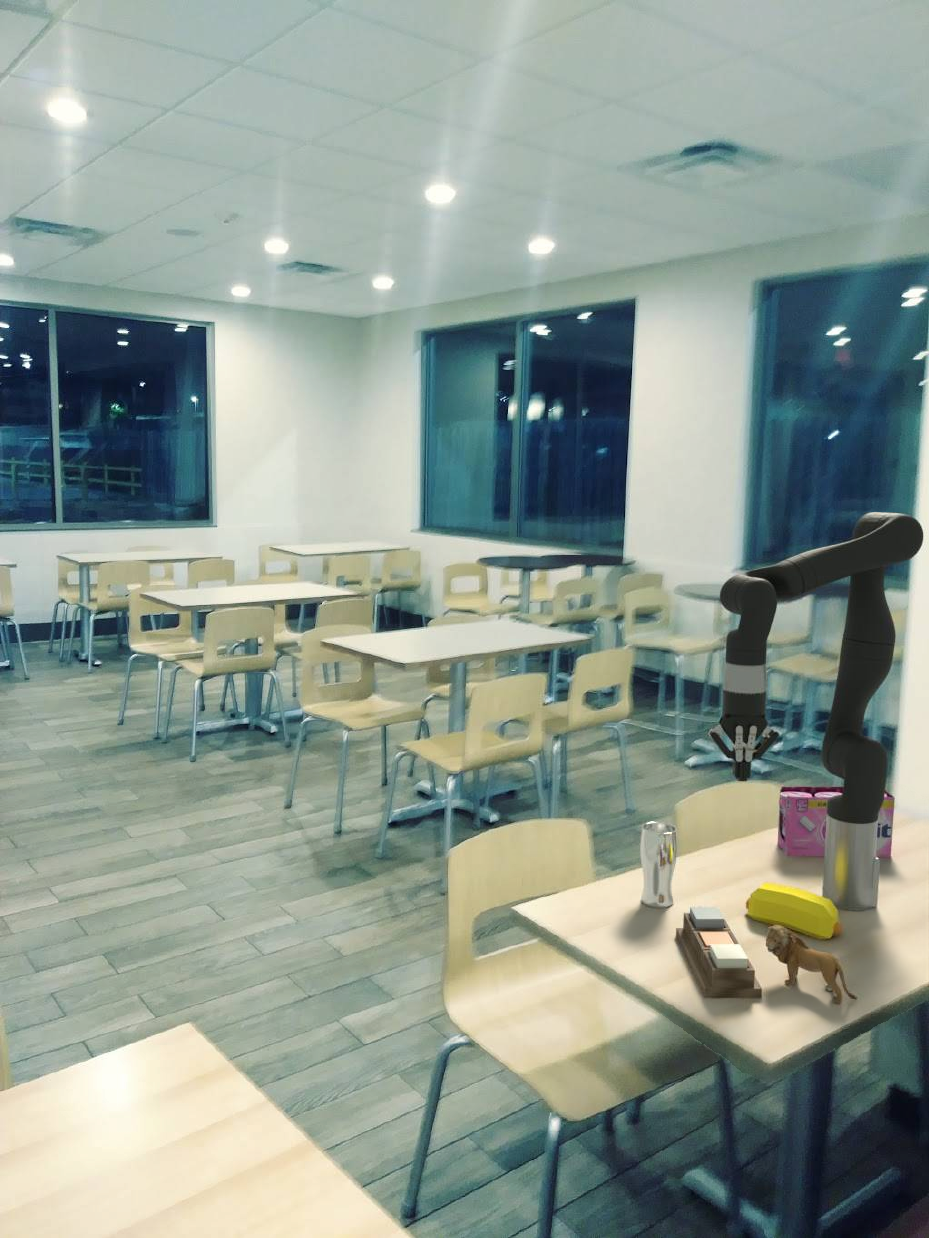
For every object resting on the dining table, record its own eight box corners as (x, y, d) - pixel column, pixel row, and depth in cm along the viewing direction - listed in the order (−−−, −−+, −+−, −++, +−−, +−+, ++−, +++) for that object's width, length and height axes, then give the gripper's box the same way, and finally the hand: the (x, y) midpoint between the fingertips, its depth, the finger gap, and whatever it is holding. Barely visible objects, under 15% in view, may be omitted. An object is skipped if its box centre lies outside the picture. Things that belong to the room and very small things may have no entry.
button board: (726, 935, 174) (726, 912, 173) (761, 997, 153) (762, 970, 153) (676, 935, 174) (676, 912, 173) (704, 997, 153) (705, 970, 153)
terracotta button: (726, 947, 166) (727, 931, 165) (734, 961, 161) (735, 945, 161) (698, 947, 166) (699, 931, 165) (705, 961, 161) (706, 945, 161)
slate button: (716, 921, 173) (717, 906, 172) (723, 934, 168) (724, 918, 167) (689, 921, 173) (690, 906, 172) (696, 934, 168) (696, 918, 167)
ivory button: (738, 960, 159) (739, 944, 158) (747, 975, 154) (747, 958, 154) (709, 960, 159) (710, 944, 158) (717, 975, 154) (717, 958, 154)
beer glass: (673, 894, 192) (675, 821, 189) (677, 909, 185) (679, 834, 183) (637, 893, 192) (639, 820, 190) (640, 908, 185) (642, 833, 183)
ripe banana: (753, 905, 187) (737, 919, 181) (754, 872, 186) (738, 885, 180) (848, 932, 176) (834, 948, 170) (850, 897, 175) (836, 911, 169)
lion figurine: (758, 980, 159) (761, 928, 157) (770, 967, 163) (772, 916, 162) (852, 1009, 150) (855, 954, 149) (861, 994, 154) (864, 941, 153)
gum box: (782, 857, 211) (784, 797, 209) (770, 843, 218) (773, 785, 217) (892, 857, 211) (895, 797, 209) (876, 843, 218) (880, 785, 216)
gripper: (774, 682, 178) (770, 773, 180) (702, 682, 178) (699, 774, 180) (788, 691, 171) (784, 786, 173) (713, 691, 171) (710, 786, 173)
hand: (741, 779), depth 177 cm, fingers closed
